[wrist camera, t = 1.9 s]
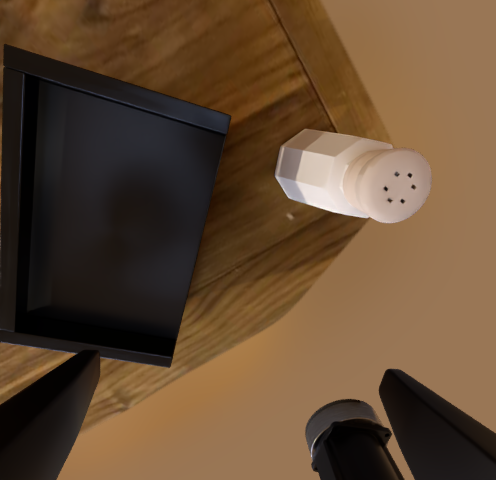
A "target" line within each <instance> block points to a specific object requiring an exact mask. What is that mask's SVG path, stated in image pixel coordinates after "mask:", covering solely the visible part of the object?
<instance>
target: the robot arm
mask: <svg viewBox="0 0 496 480" xmlns="http://www.w3.org/2000/svg"><path fill="white" fill-rule="evenodd" d="M99 377H100V352H99V351H98V350H87V349H86V350H82V351H81V352H79V353H78V354H76V355H75V356H73V357H72V358H70V359H69V360H67V361H66V362H64V363H63V364H61V365H59V366H58V367H56V368H55V369H53V370H52V371H50V372H49V373H47V374H46V375H44V376H43V377H41V378H40V379H38V380H37V381H35V382H34V383H32V384H31V385H29V386H28V387H26V388H25V389H23V390H22V391H20V392H19V393H17V394H16V395H14V396H13V397H11V398H10V399H8V400H7V401H5V402H4V403H2V404H1V405H0V480H56V479H57V477H58V475H59V473H60V471H61V469H62V467H63V465H64V463H65V461H66V459H67V457H68V455H69V453H70V451H71V449H72V447H73V445H74V443H75V441H76V438H77V436H78V433H79V431H80V428H81V426H82V423H83V420H84V418H85V415H86V413H87V410H88V407H89V405H90V402H91V400H92V397H93V394H94V392H95V389H96V387H97V384H98V381H99ZM379 395H380V398H381V401H382V403H383V406H384V409H385V411H386V414H387V416H388V419H389V421H390V424H391V427H392V429H393V432H394V435H395V437H396V440H397V442H398V445H399V447H400V449H401V451H402V454H403V456H404V458H405V460H406V462H407V464H408V466H409V468H410V470H411V472H412V475H413V476H414V479H415V480H496V433H494V432H493V431H491V430H490V429H488V428H487V427H485V426H484V425H482V424H481V423H479V422H478V421H476V420H475V419H473V418H472V417H470V416H469V415H467V414H466V413H464V412H463V411H461V410H460V409H458V408H457V407H455V406H454V405H452V404H451V403H449V402H448V401H446V400H445V399H443V398H442V397H440V396H439V395H437V394H436V393H435V392H433V391H432V390H430V389H428V388H427V387H426V386H424V385H423V384H421V383H419V382H418V381H416V380H415V379H414V378H412V377H411V376H409V375H408V374H406V373H405V372H403V371H401V370H399V369H387V370H386V371H385V373H384V376H383V379H382V381H381V384H380V386H379ZM391 435H392V433H391V431H390V430H389V428H385V427H378V426H370V425H363V424H355V423H347V422H340V421H334V422H332V423H331V425H330V427H329V429H328V431H327V433H326V435H325V437H324V439H323V441H322V443H321V445H320V447H319V449H318V451H317V454H316V456H315V458H314V460H313V462H312V464H311V465H312V469H313V471H315V472H318V473H319V476H320V479H321V480H404V478H403V476H402V474H401V472H400V471H399V469H398V467H397V465H396V463H395V461H394V460H393V458H392V456H391V454H390V453H389V451H388V449H387V447H386V444H387V442H388V441H389V439H390V437H391Z"/></svg>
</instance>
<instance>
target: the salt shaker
mask: <svg viewBox="0 0 496 480" xmlns="http://www.w3.org/2000/svg"><path fill="white" fill-rule="evenodd" d="M274 176H275V177H276V179H277V181H278V182H279V184H280V185H281V187H282V188H283V190H284V192H285V193H286V195H287V196H288V198H289V199H292V200H295V201H299V202H302V203H305V204H308V205H312V206H315V207H318V208H321V209H325V210H328V211H331V212H336V213H340V214H344V215H350V216H356V217H362V218H368V217H371V218H373V219H375V220H377V221H379V222H383V223H396V222H399V221H402V220H405V219H407V218H408V217H410V216H411V215H413V214H414V213H415V212H416V211H417V210H418V209H419V208H420V207H421V206H422V205H423V204H424V202H425V200H426V199H427V197H428V195H429V192H430V189H431V183H432V176H431V169H430V166H429V164H428V162H427V160H426V159H425V158H424V157H423V155H421V154H420V153H419V152H417V151H415V150H413V149H409V148H394V149H393V147H392V144H388V143H385V142H381V141H376V140H371V139H367V138H362V137H357V136H352V135H345V134H338V133H331V132H325V131H318V130H311V129H304V130H302V131H301V132H300V133H298V134H297V135H295V136H294V137H293V138H291V139H290V140H288V141H287V142H286V143H284V144H283V145H281V146H280V151H279V155H278V160H277V165H276V169H275V174H274Z"/></svg>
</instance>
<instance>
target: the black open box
mask: <svg viewBox="0 0 496 480" xmlns="http://www.w3.org/2000/svg"><path fill="white" fill-rule="evenodd" d="M3 65H4V66H5V67H4V68H3V116H2V166H1V216H0V342H2V343H8V344H15V345H21V346H28V347H35V348H41V349H48V350H55V351H61V352H68V353H75V354H78V353H79V352H81V351H82V350H86V349H87V350H98V351H99V352H100V357H101V358H108V359H115V360H121V361H128V362H134V363H141V364H148V365H154V366H161V367H168V368H170V366H171V363H172V359H173V354H174V350H175V346H176V341H177V337H178V333H179V329H180V325H181V321H182V316H183V312H184V308H185V304H186V300H187V296H188V292H189V288H190V284H191V279H192V275H193V271H194V267H195V263H196V259H197V255H198V251H199V247H200V242H201V238H202V234H203V230H204V226H205V222H206V218H207V214H208V210H209V205H210V201H211V197H212V193H213V189H214V185H215V181H216V177H217V172H218V168H219V164H220V160H221V156H222V152H223V148H224V144H225V140H226V135H227V133H228V129H229V124H230V120H231V115H228V114H225V113H222V112H219V111H215V110H212V109H209V108H206V107H203V106H200V105H197V104H193V103H190V102H187V101H184V100H181V99H178V98H174V97H171V96H168V95H165V94H162V93H159V92H156V91H152V90H149V89H146V88H143V87H140V86H137V85H133V84H130V83H127V82H124V81H121V80H118V79H115V78H111V77H108V76H105V75H102V74H99V73H96V72H92V71H89V70H86V69H83V68H80V67H77V66H73V65H70V64H67V63H64V62H61V61H58V60H55V59H51V58H48V57H45V56H42V55H39V54H36V53H32V52H29V51H26V50H23V49H20V48H17V47H14V46H10V45H7V44H4V59H3Z"/></svg>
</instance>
